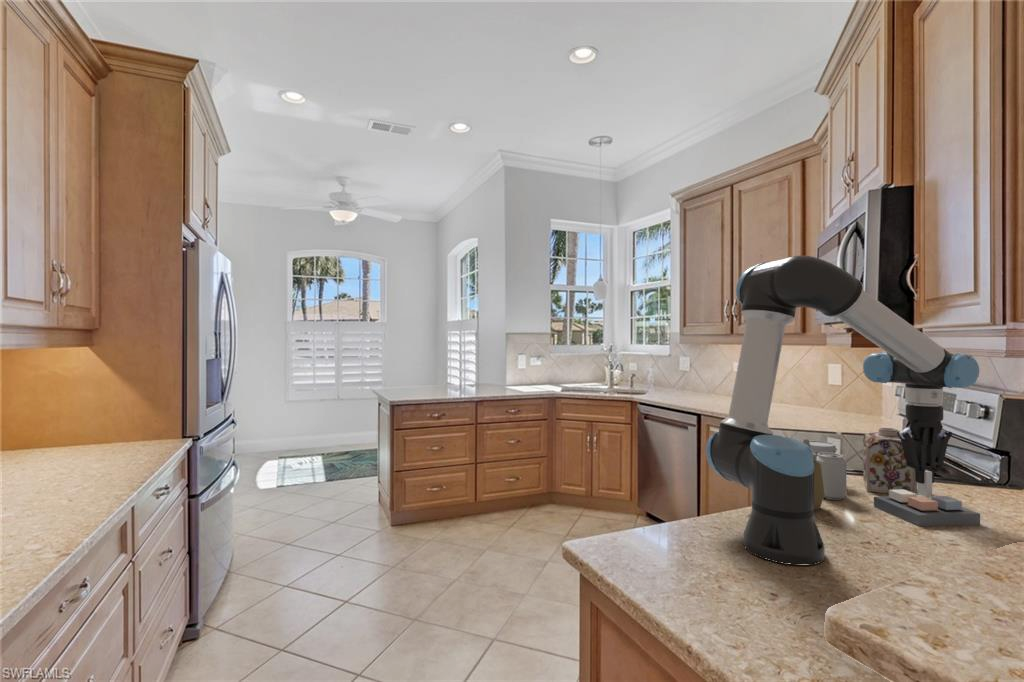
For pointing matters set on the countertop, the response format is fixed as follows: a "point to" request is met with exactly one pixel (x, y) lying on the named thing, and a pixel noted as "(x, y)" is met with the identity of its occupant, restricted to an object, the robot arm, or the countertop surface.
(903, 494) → the cream key
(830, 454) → the can
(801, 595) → the countertop surface
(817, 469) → the squeeze bottle
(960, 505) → the slate key
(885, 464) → the decorative jar
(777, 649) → the countertop surface
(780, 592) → the countertop surface
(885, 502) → the keypad
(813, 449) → the disposable coffee cup
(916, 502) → the terracotta key
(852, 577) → the countertop surface
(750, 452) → the robot arm
